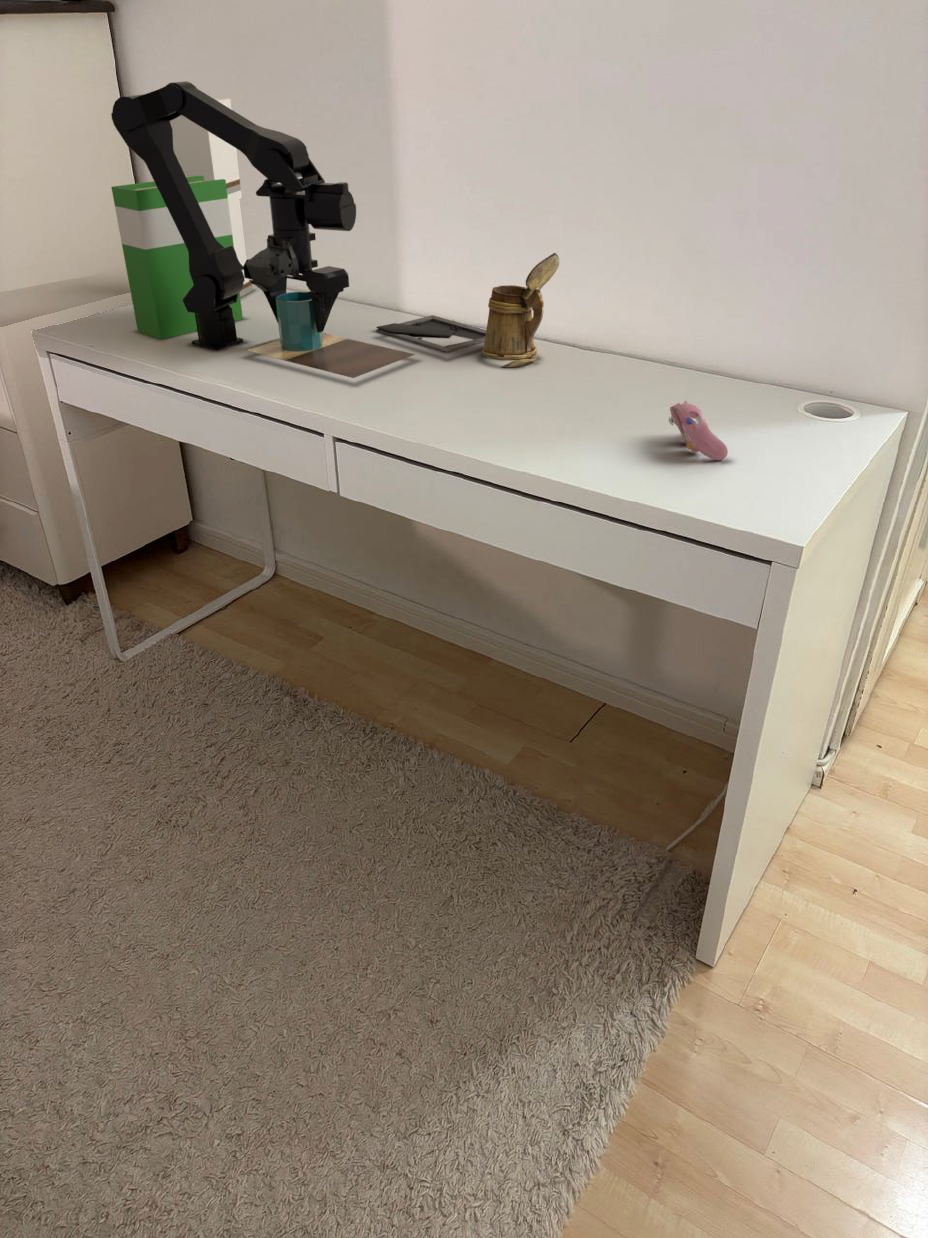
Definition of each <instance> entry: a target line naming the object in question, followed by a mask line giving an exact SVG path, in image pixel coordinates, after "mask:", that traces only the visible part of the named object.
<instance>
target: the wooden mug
mask: <svg viewBox="0 0 928 1238" xmlns="http://www.w3.org/2000/svg"><path fill="white" fill-rule="evenodd" d="M559 266H560V257H559V255H558V254H557V253H556V252H553V253H551V254H550V255H549V256H547V257H545V258H544V259H542V260H541V261H540V262H538V263H537V264H536V265H535V266H534V267H533V268H532V269H531V270H530V272H529V273H528V275H527V277H526V279H525V286H520V285H515V284H513V285H498V286H493V287H492V289H491V290H492V291H491V295H490V297H489V300H488V304H487V307H488V309H489V311H488V317H487V323H486V329H485V330H486V336H485V342H484V343H483V347H482V350H481V353H482V355H483V356H484V357H486V358H489V359H493V360H498V361H510V362H508V363H506V364H503V365H501V367H502V368H517V367H519V368H520V367H525V366H528V365H530V364H533V363H534V362H535V361H536V360H537V358H538V357H537V356H538V348H537V346H535V339H534V336H535V334H536V332H537V330H538V329H539V327H540V325H541V323H542V320H543V317H544V310H545V309H544V307H545V306H544V305H545V304H544V299H543V294H542V291H541V290H542V288H543V287H545V285H546V284H547V283H548V282H549V281H551V279H552V278H553V276H554V275H555V273H557V270H558V269H559Z"/></svg>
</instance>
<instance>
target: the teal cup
mask: <svg viewBox="0 0 928 1238" xmlns="http://www.w3.org/2000/svg"><path fill="white" fill-rule="evenodd" d="M306 292H307V291H290V292H288V291H287V292H286V293H284V294H280V295H278V296H277V297H276V307H277V316H278V323H277V325H278V333H279V335H278V336H279V340H280V343H281V347H282V348H283V349H285V350H289V351H311V350H315V349H318V348H320V347H322V345H323V332H324V331H323V332H320V333H319V332H317V328H316V324H315V316H314V308H313V301H312V299H311V298H310V297H309V296H308V295H307V294H306Z"/></svg>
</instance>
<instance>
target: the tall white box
mask: <svg viewBox="0 0 928 1238" xmlns="http://www.w3.org/2000/svg"><path fill="white" fill-rule="evenodd" d="M212 98H213V99H215V100H217V101H218V102H220V103H221V104H223V105H225V106H226V107H228V108H230V109H231V110H233V109H232V108H233V107H232V101H231V98H223V97H222V98H221V97H217V98H216V97H212ZM170 123H171V127H172V130H173V150H174V153H175V155H176V157H177V159H178V161H179V164H180V166H181V168H182V170H183V172H184V174H185V176H186V177H194V176H204V181H212V180H219V179H225V180H226V188H227V196H228V204H229V212H230V220H231V228H232V236H233V244H234V249H235V252H236V255H237V258H238V260H239V262H240V263H241V265H242V266H244V264H245V262H246V260H247V252H246V243H245V235H244V228H243V218H242V217H243V216H242V209H241V208H242V207H241V200H240V199H242V198H243V195H242V194H243V193H242V187H241V177H240V171H239V169H240V168H239V160H238V151H237V149H236V148H235V147H233V146H232V145H230V144H228V143H227V142H225V141H223V140H222V139H220V138H218V137H217V136H215V135H214V134H212V133H210V132H209V131H207V130H205V129H204V128H202V127H200V126H199V125H197V124H195V123H194V122H192V121H191V120H189V119H187V118H186V117H184V116H182V115H181V116H180V117H178V118H176V119H174V120H171V121H170ZM242 272H243V275H244V270H242ZM244 280H245V281H244V284H243V288H242V289H241V291H240V298H242V297H243V296H246V295H247V294H249V293H250V292H253V290H254V289H253V284H252V283H251V282H250V281H251V280H252V279H247V278H245V277H244Z"/></svg>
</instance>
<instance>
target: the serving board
mask: <svg viewBox="0 0 928 1238" xmlns="http://www.w3.org/2000/svg"><path fill="white" fill-rule="evenodd" d="M245 351H246V352H250V353H253V354H258V355H262V356H265V357H270V358H273V359H278V360H282V361H285V362H289V363H292V364H297V365H301V366H305V367H308V368H313V369H316V370H321V371H325V372H327V373H331V374H336V375H340V376H344V377H348V378H351V379H355V378H358V377H361V376H363V375H366V374H368V373H370V372H374V371H376V370H378V369H381V368H383V367H386V366H389V365H391V364H394V363H397V362H400V361H401V360H404V359H407V358H410V357H412V356H415V355H416V353H412V352H408V351H403V350H399V349H395V348H390V347H387V346H382V345H378V344H372V343H369V342H364V341H359V340H355V339H350V338H347V337H341V336H337V335H332V334H329V333H323V345H322V347H320V348H318V349H315V350H311V351H289V350H285V349H283V348H282V347H281V343H280V339H278V340H274V341H272V342H268V343H265V344H262V345H259V346H256V347H252V348H249V349H246V350H245Z"/></svg>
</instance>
